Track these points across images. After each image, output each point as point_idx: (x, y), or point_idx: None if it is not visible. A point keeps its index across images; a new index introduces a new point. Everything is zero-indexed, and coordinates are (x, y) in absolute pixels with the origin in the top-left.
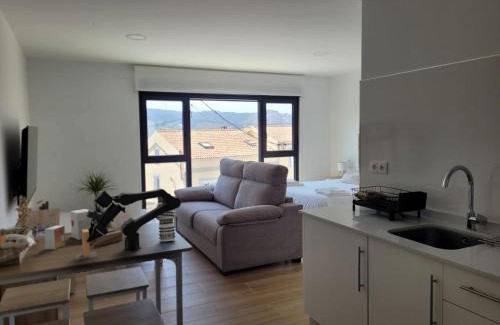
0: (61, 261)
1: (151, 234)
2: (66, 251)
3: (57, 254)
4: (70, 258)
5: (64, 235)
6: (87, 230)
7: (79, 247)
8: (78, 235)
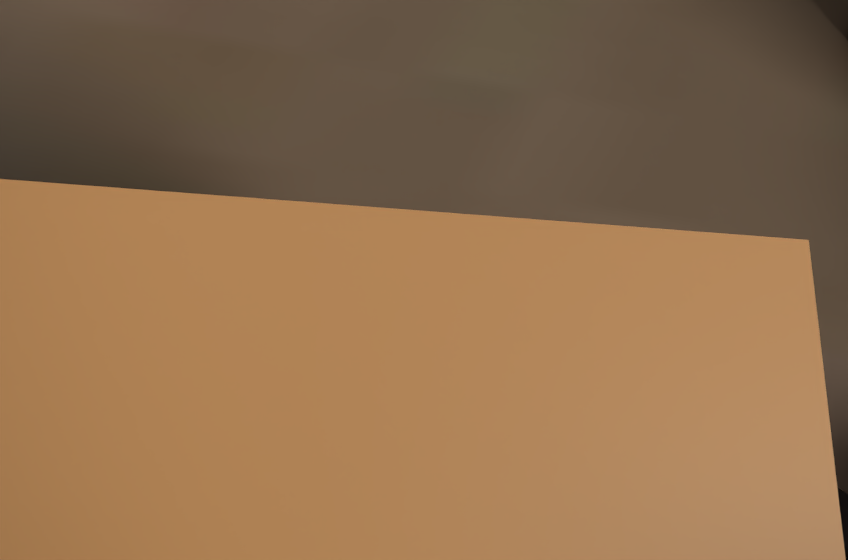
0: (241, 3)
1: None
2: (722, 150)
3: (633, 24)
4: (330, 144)
5: None
6: (403, 544)
7: (844, 342)
8: None
